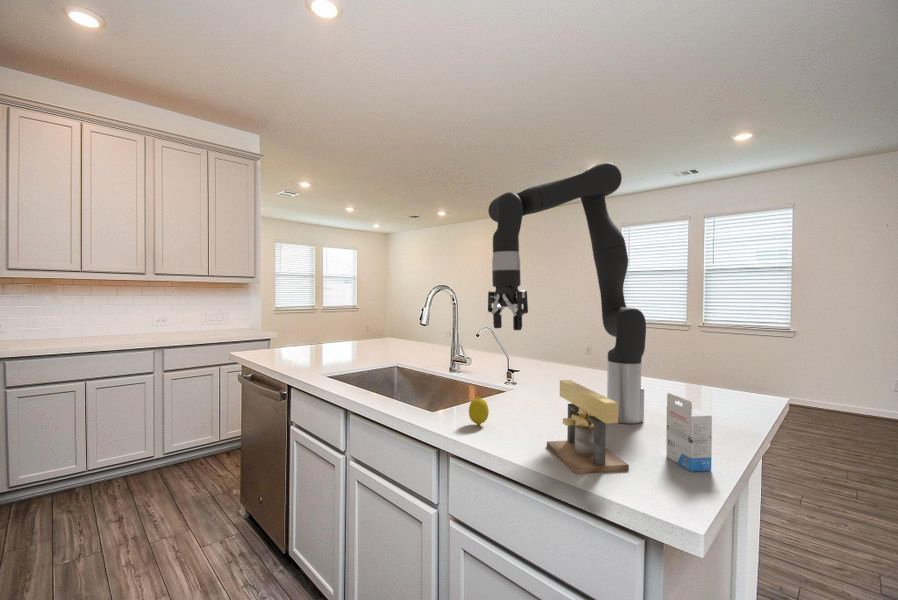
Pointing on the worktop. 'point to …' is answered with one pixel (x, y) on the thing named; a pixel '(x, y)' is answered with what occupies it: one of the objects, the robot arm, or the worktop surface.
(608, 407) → the yellow long bar
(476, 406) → the lemon
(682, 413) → the ink box
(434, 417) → the worktop surface
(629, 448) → the worktop surface
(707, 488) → the worktop surface
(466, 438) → the worktop surface
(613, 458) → the base
